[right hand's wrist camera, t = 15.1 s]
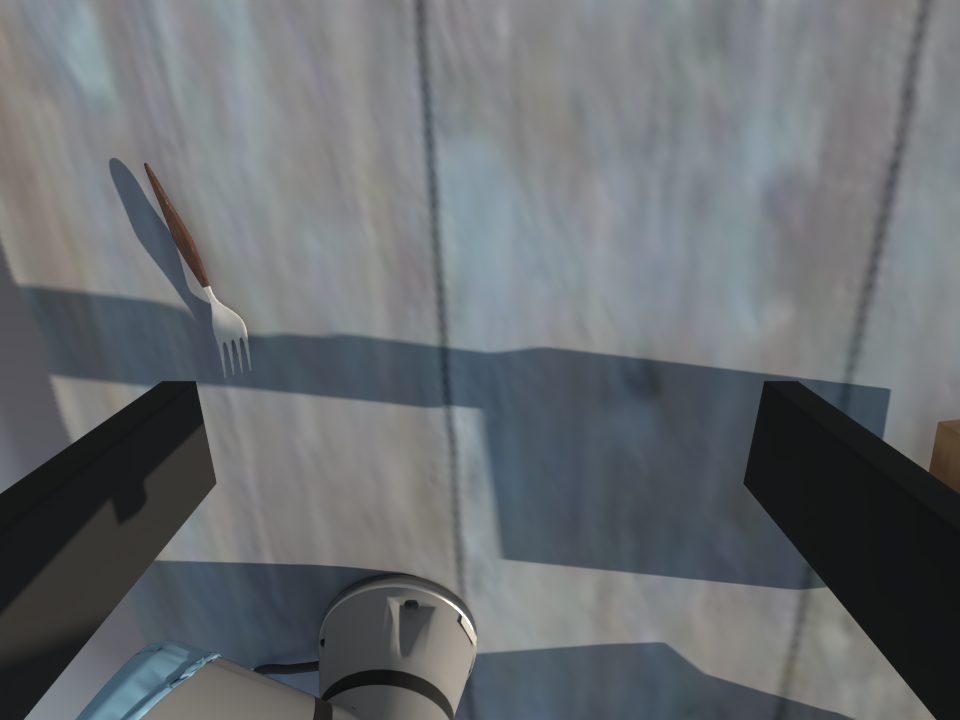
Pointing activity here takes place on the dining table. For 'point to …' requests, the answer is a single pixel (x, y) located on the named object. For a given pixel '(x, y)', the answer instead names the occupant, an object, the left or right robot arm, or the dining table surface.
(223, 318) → the fork
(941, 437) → the box
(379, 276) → the dining table surface
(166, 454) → the right robot arm
